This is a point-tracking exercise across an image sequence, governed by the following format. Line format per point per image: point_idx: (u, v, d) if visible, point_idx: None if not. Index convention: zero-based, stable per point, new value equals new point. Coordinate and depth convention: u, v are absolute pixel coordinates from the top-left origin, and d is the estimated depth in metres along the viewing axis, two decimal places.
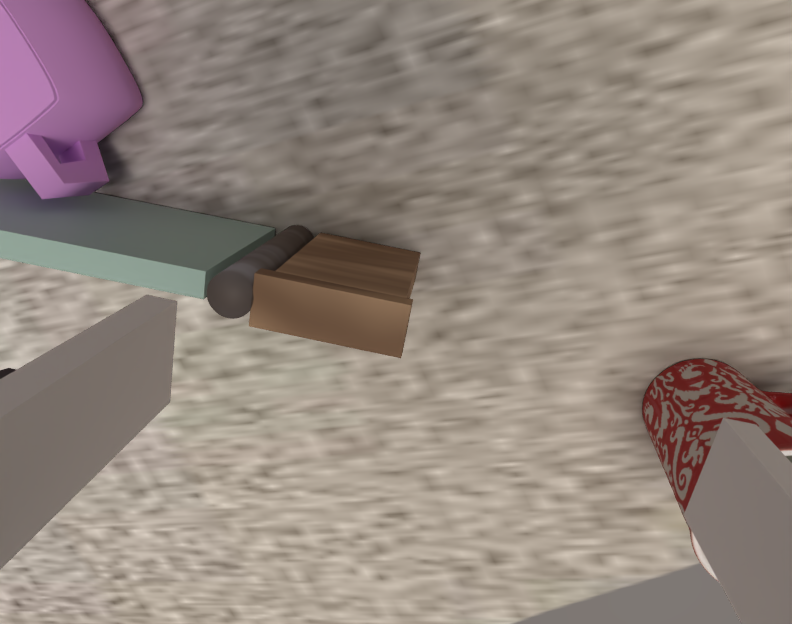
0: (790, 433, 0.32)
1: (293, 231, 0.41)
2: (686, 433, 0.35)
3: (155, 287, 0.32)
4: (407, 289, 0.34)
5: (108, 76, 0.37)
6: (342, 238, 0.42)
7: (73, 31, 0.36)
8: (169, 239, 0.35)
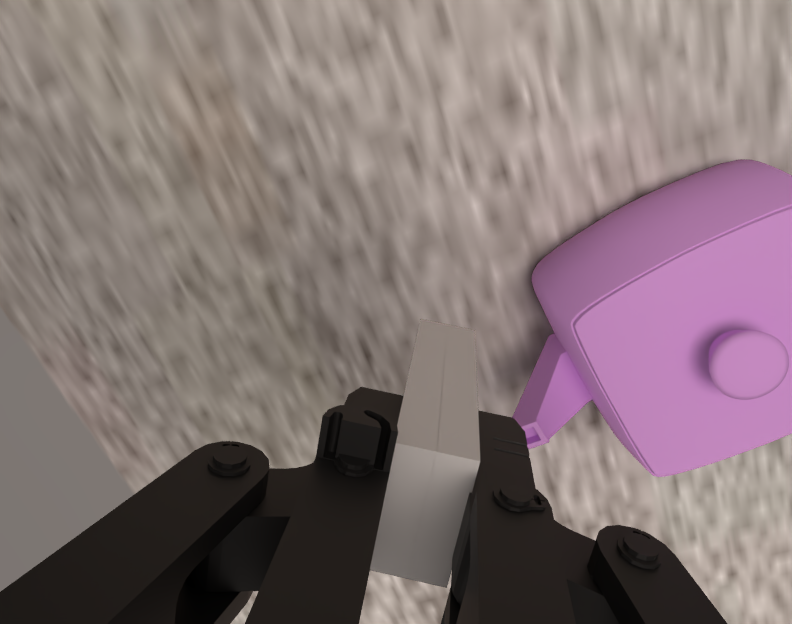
0: None
1: None
2: None
3: None
4: None
5: (730, 174, 0.26)
6: None
7: (673, 205, 0.26)
8: None
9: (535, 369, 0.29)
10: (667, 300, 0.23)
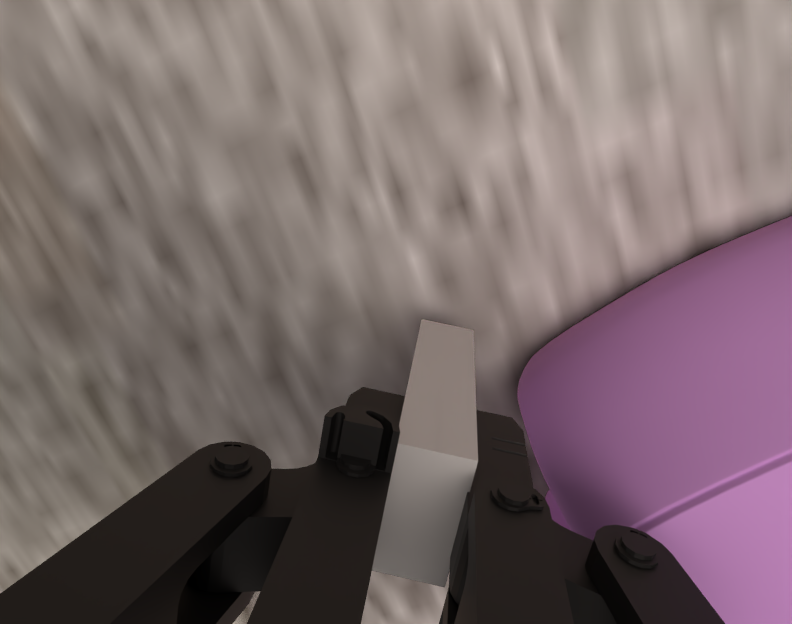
0: None
1: None
2: None
3: None
4: None
5: None
6: None
7: None
8: None
9: None
10: None
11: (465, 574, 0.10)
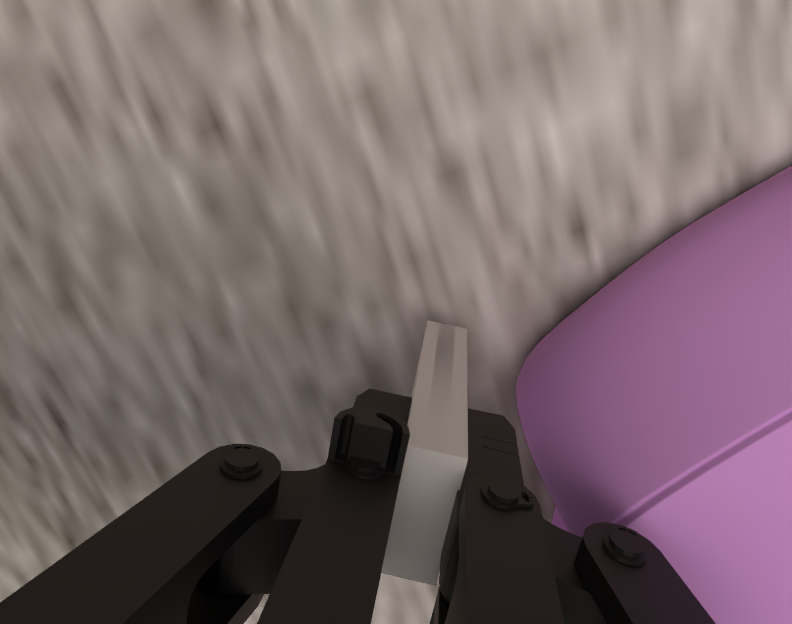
0: None
1: None
2: None
3: None
4: None
5: None
6: None
7: (770, 250, 0.12)
8: None
9: None
10: None
11: (456, 572, 0.10)
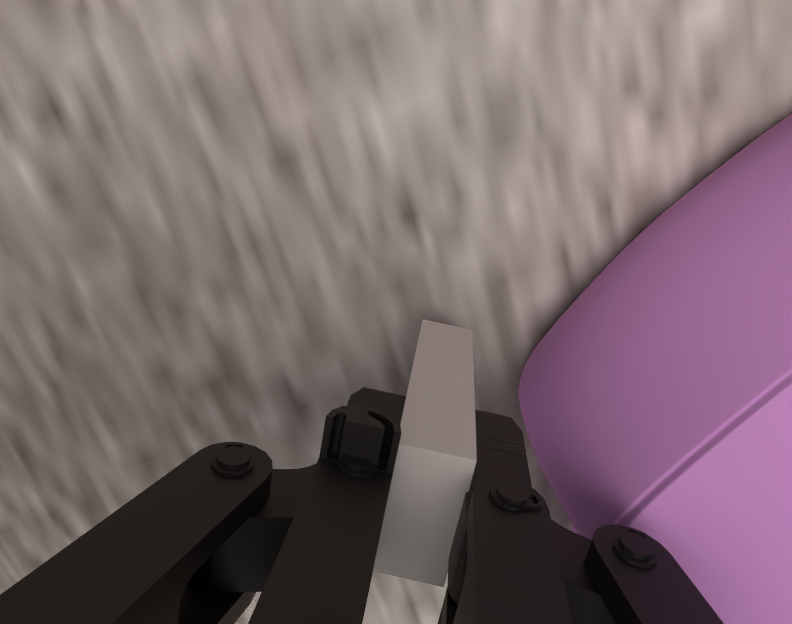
0: None
1: None
2: None
3: None
4: None
5: None
6: None
7: (740, 228, 0.12)
8: None
9: None
10: None
11: (464, 574, 0.10)
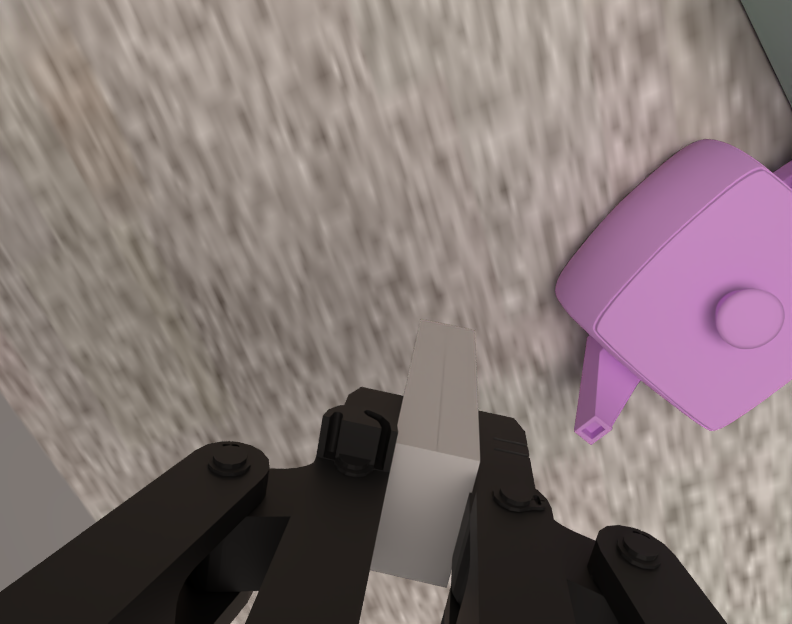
0: None
1: None
2: None
3: None
4: None
5: (688, 160, 0.30)
6: None
7: (648, 203, 0.30)
8: None
9: (583, 370, 0.33)
10: (664, 286, 0.27)
11: (467, 574, 0.10)
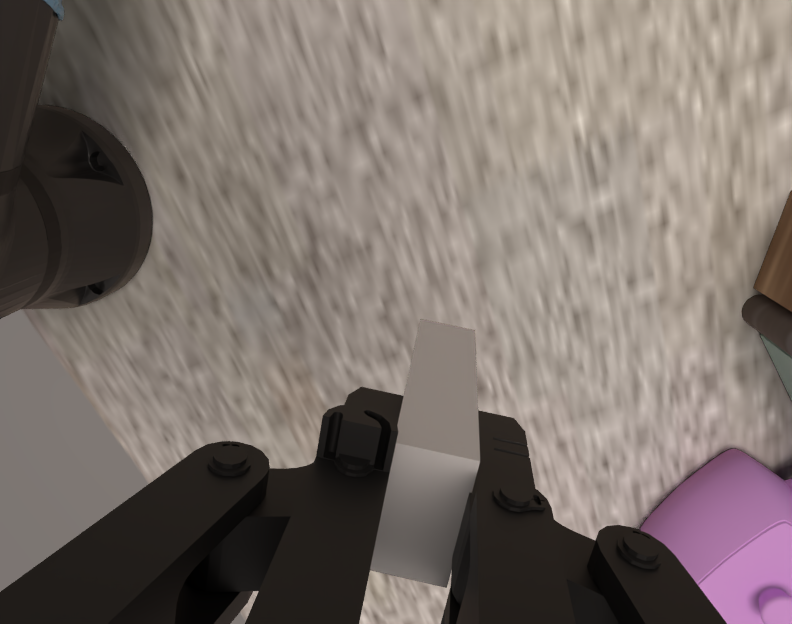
0: None
1: (756, 314, 0.43)
2: None
3: None
4: None
5: (733, 480, 0.45)
6: (764, 267, 0.43)
7: (708, 511, 0.45)
8: None
9: None
10: (724, 584, 0.42)
11: (467, 574, 0.10)
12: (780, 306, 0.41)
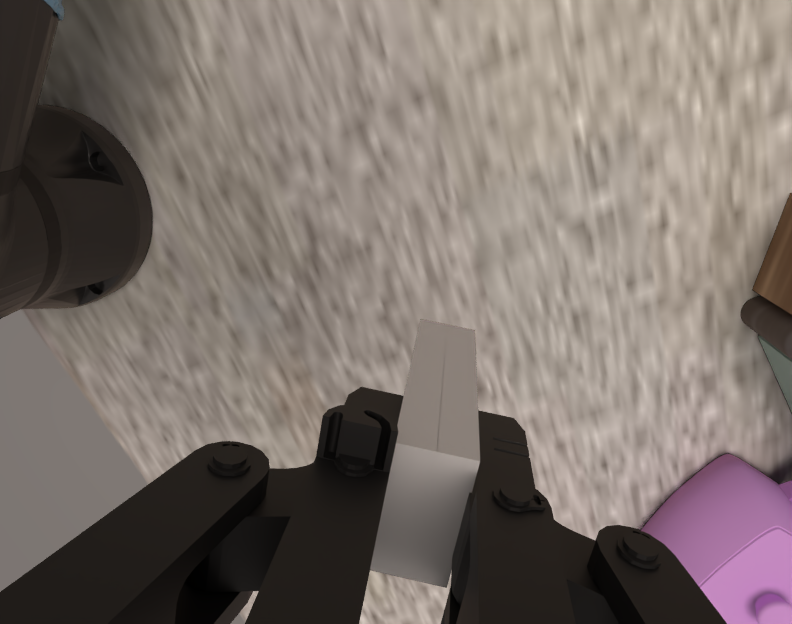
0: None
1: (755, 316, 0.43)
2: None
3: None
4: None
5: (726, 486, 0.45)
6: (763, 269, 0.43)
7: (702, 517, 0.45)
8: None
9: None
10: (720, 591, 0.42)
11: (467, 574, 0.10)
12: (779, 308, 0.42)
